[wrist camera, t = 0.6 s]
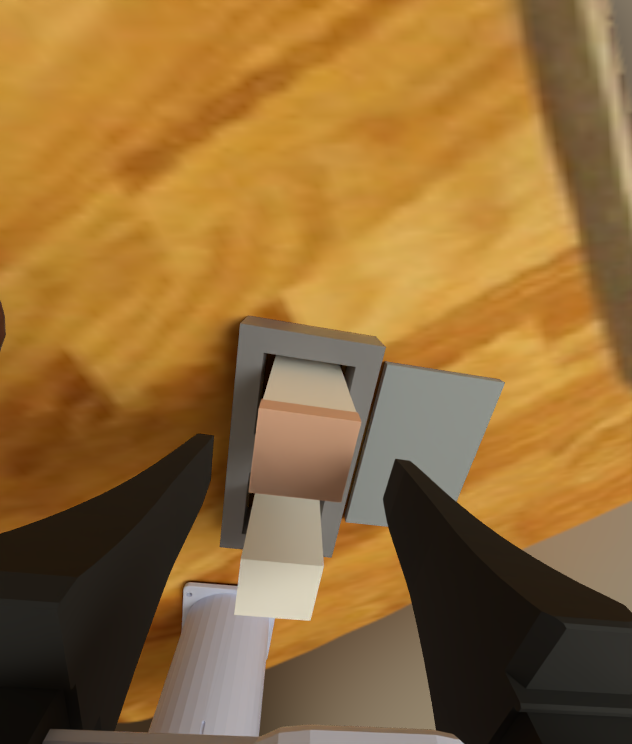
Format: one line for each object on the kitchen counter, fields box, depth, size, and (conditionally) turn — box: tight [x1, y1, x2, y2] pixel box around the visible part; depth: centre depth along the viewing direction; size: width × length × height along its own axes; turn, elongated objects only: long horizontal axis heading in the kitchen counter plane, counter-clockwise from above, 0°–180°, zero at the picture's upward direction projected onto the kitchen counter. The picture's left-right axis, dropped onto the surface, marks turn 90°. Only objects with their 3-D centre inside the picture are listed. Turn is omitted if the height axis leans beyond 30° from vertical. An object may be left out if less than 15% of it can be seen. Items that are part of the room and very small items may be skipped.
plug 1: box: [249, 355, 361, 503], centre depth 16 cm, size 4×4×8 cm
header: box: [220, 316, 386, 557], centre depth 20 cm, size 16×8×2 cm, turn 170°
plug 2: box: [234, 493, 324, 621], centre depth 19 cm, size 4×4×8 cm
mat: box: [345, 361, 505, 526], centre depth 22 cm, size 13×8×1 cm, turn 170°
